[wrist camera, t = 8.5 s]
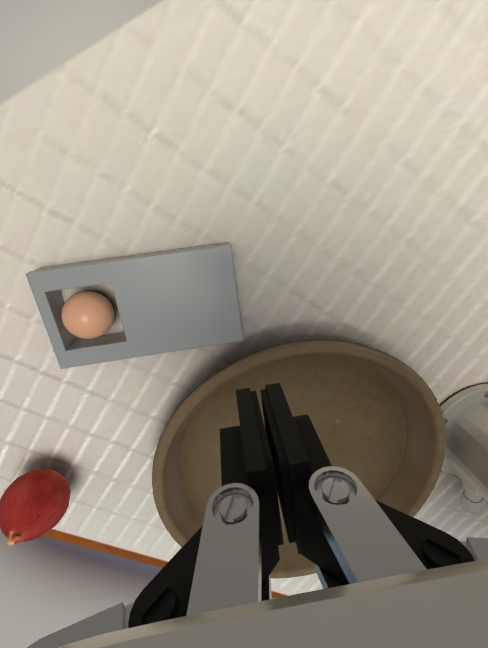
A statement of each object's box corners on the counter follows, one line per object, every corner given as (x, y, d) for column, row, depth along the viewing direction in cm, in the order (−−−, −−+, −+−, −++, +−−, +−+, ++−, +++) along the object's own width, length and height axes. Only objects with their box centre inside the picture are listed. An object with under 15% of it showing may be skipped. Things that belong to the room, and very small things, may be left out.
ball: (82, 351, 25) (62, 340, 28) (128, 332, 28) (106, 324, 31) (65, 302, 24) (47, 296, 26) (115, 287, 26) (94, 283, 29)
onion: (87, 488, 36) (56, 563, 29) (33, 496, 36) (-13, 574, 28) (73, 447, 34) (35, 516, 26) (16, 454, 34) (-39, 527, 26)
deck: (240, 330, 31) (243, 340, 29) (72, 356, 30) (60, 368, 28) (228, 241, 28) (230, 245, 26) (41, 267, 27) (25, 273, 25)
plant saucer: (475, 414, 38) (508, 441, 34) (309, 571, 45) (320, 610, 41) (271, 263, 30) (282, 273, 25) (105, 487, 37) (91, 525, 32)
